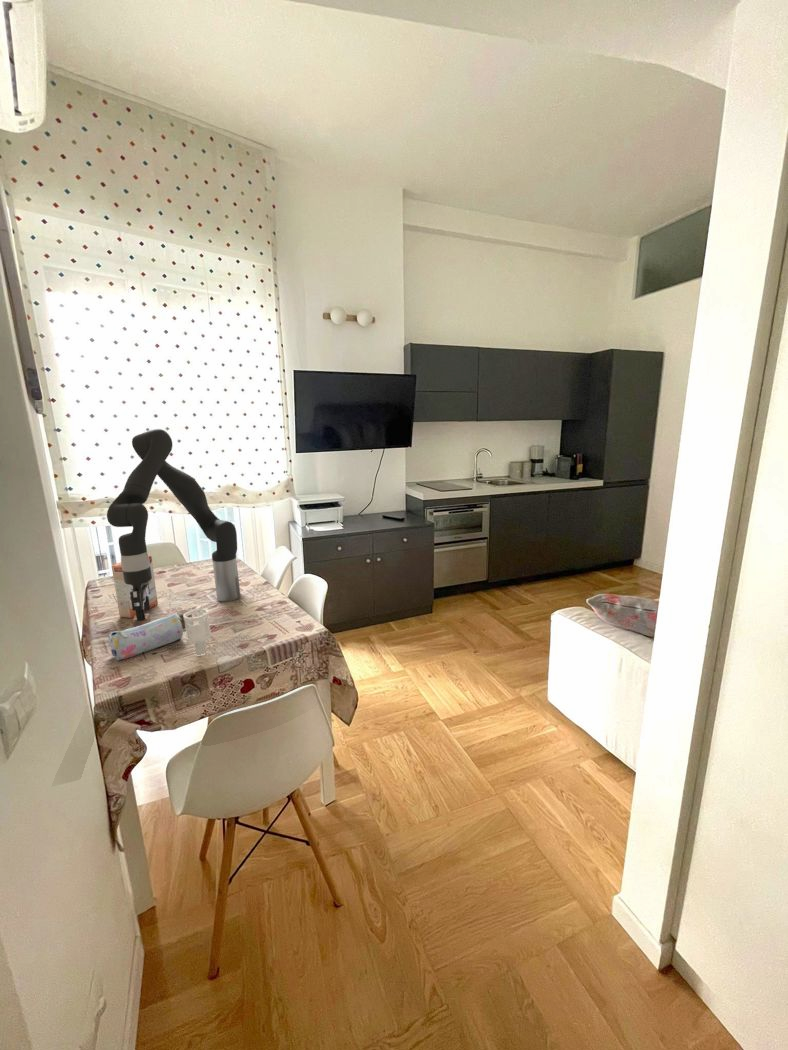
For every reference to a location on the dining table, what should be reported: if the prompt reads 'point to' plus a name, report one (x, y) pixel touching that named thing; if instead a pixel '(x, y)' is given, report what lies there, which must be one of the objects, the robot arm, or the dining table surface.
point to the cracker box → (125, 589)
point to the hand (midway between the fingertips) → (144, 615)
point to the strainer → (198, 629)
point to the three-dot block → (139, 623)
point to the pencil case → (145, 637)
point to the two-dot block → (180, 614)
